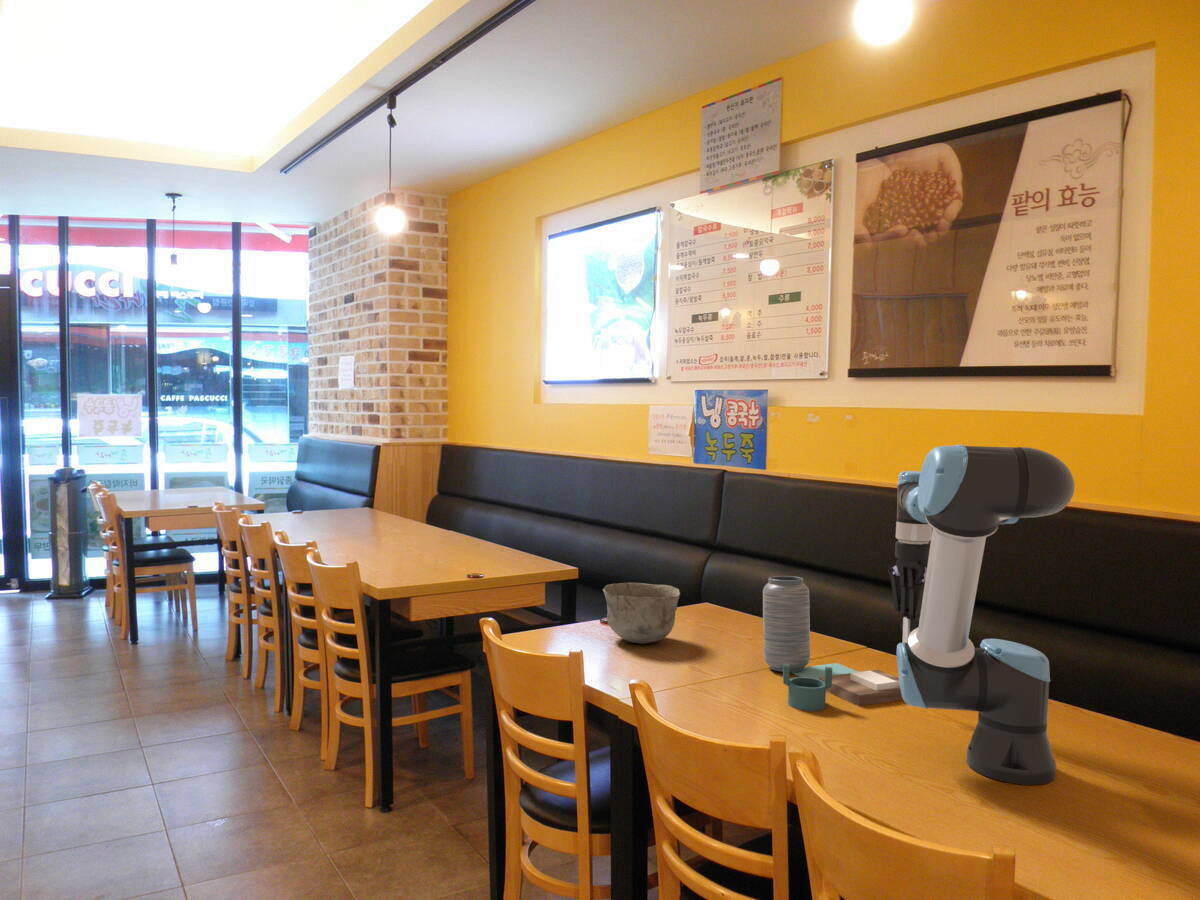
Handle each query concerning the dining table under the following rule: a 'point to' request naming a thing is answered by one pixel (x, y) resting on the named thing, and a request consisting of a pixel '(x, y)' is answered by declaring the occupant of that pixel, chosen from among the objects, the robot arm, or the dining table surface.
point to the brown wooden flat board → (862, 690)
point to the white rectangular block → (873, 680)
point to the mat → (823, 670)
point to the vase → (786, 623)
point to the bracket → (807, 690)
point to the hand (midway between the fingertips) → (909, 646)
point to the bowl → (641, 610)
